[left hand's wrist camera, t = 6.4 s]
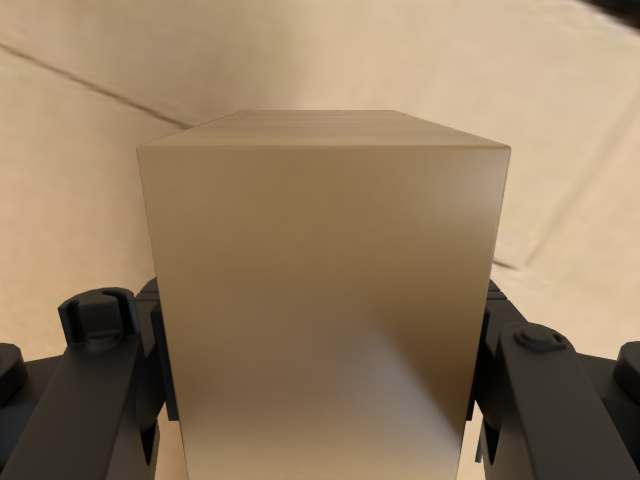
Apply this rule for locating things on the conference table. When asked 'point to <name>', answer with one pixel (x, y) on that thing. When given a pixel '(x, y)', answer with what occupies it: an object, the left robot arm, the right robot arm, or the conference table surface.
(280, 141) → the beam
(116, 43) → the conference table surface
